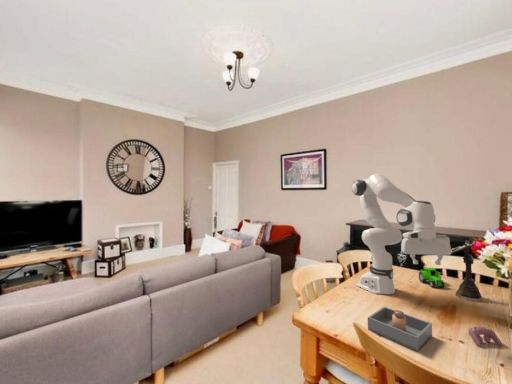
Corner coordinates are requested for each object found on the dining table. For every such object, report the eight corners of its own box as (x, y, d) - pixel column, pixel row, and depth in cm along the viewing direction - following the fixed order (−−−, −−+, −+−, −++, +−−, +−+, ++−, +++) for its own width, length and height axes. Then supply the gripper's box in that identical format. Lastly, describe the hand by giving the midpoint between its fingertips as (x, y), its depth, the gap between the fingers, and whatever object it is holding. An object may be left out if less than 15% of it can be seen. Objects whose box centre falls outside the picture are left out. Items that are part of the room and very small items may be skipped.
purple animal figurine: (494, 345, 101) (487, 326, 104) (504, 346, 97) (496, 326, 100) (470, 345, 101) (464, 326, 105) (479, 347, 97) (472, 326, 100)
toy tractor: (430, 288, 155) (429, 273, 155) (417, 279, 171) (417, 265, 171) (449, 289, 153) (449, 273, 153) (434, 280, 169) (434, 265, 169)
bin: (367, 329, 111) (367, 317, 111) (384, 317, 121) (384, 306, 121) (417, 351, 96) (417, 337, 96) (432, 336, 106) (431, 323, 105)
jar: (390, 329, 109) (390, 311, 109) (395, 325, 112) (395, 308, 112) (402, 335, 105) (402, 316, 105) (408, 330, 108) (408, 312, 108)
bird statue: (442, 295, 146) (442, 236, 145) (448, 288, 154) (447, 233, 154) (480, 304, 133) (479, 240, 133) (483, 297, 141) (483, 236, 141)
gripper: (445, 234, 118) (447, 264, 117) (399, 233, 122) (400, 262, 120) (453, 235, 112) (455, 266, 111) (404, 234, 116) (406, 264, 114)
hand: (426, 264), depth 116 cm, fingers open, 8 cm apart
